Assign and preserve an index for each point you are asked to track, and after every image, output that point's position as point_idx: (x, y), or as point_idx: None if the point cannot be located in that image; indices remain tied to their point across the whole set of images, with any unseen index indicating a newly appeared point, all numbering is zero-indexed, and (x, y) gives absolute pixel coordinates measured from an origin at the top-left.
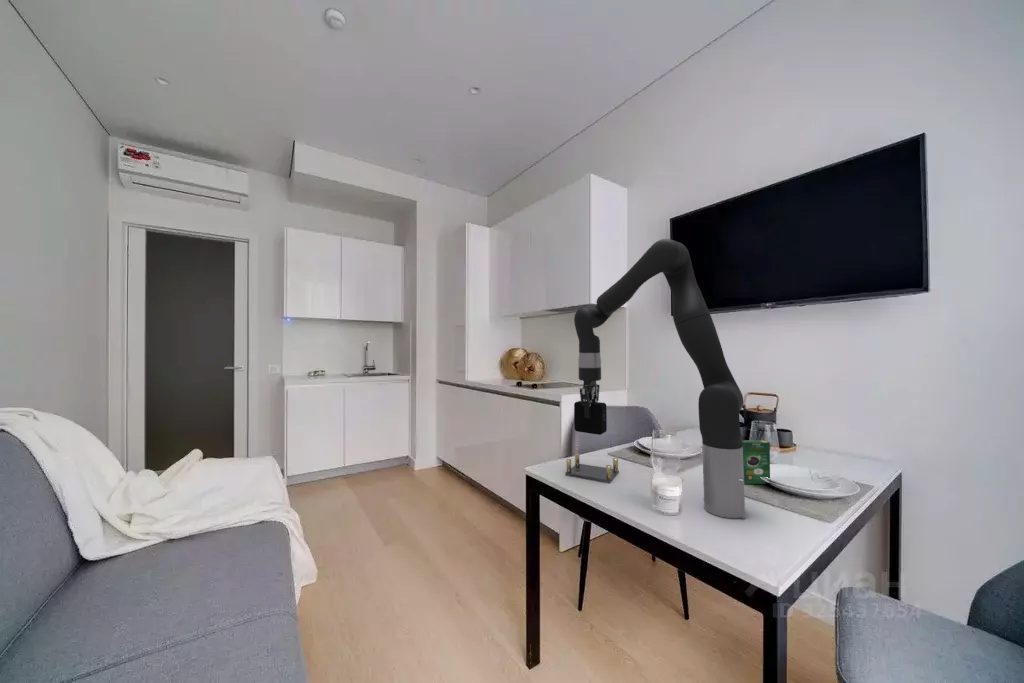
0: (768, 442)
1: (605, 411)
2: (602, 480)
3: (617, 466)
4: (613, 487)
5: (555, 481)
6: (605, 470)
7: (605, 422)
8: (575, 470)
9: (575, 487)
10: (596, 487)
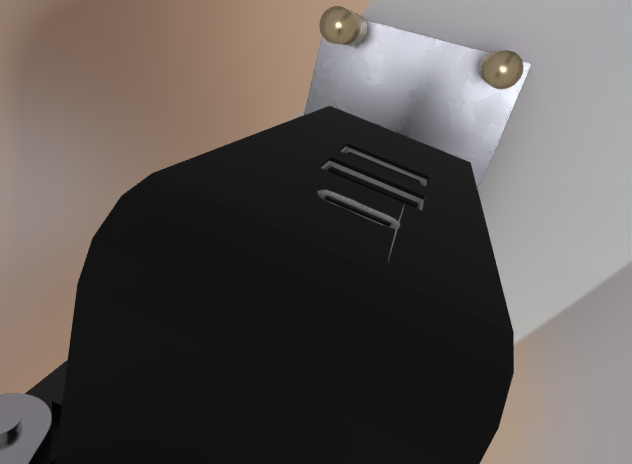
0: None
1: (279, 168)
2: (512, 107)
3: (357, 14)
4: (594, 36)
5: (520, 339)
6: (358, 94)
7: (341, 133)
8: None
9: (603, 248)
10: (599, 138)
